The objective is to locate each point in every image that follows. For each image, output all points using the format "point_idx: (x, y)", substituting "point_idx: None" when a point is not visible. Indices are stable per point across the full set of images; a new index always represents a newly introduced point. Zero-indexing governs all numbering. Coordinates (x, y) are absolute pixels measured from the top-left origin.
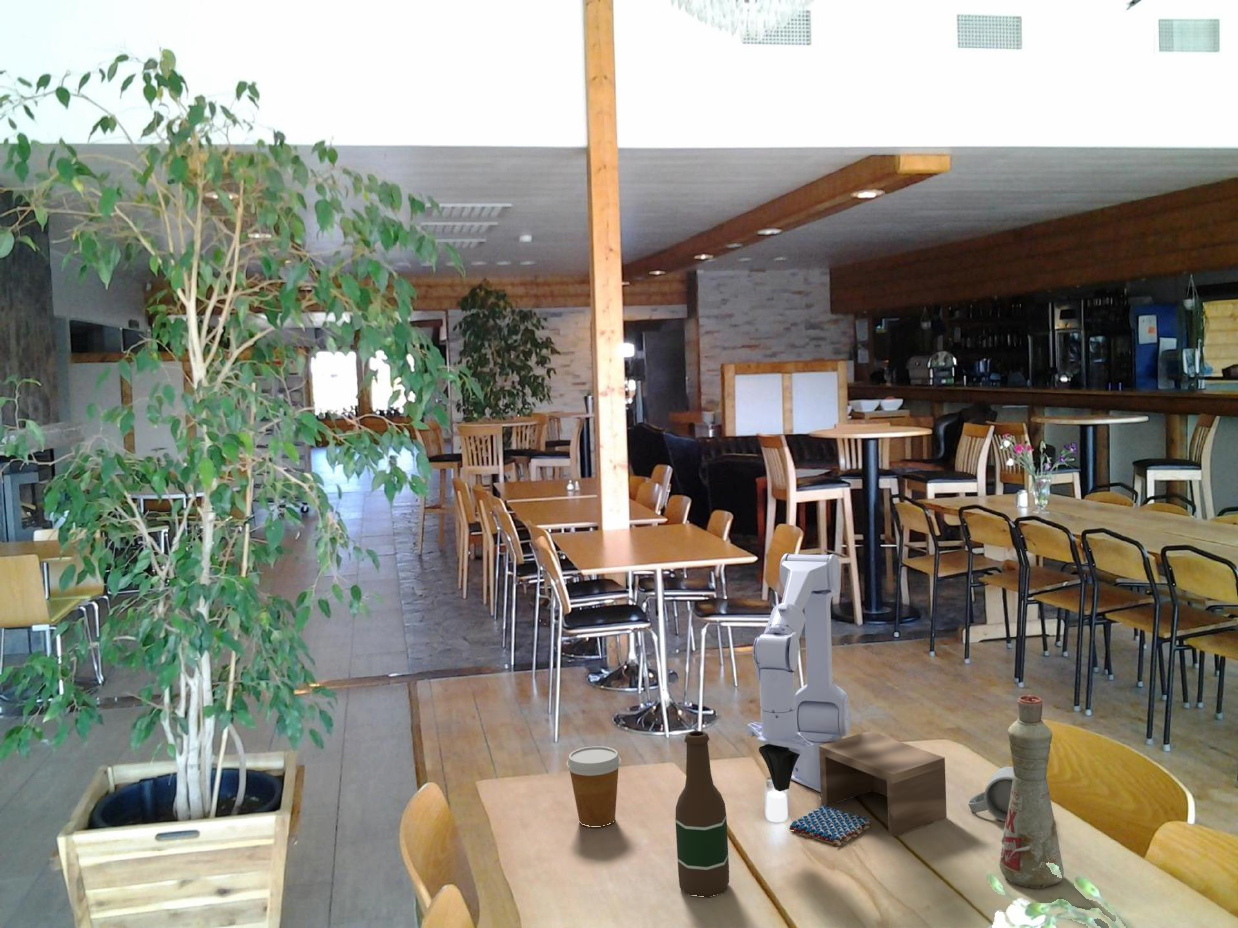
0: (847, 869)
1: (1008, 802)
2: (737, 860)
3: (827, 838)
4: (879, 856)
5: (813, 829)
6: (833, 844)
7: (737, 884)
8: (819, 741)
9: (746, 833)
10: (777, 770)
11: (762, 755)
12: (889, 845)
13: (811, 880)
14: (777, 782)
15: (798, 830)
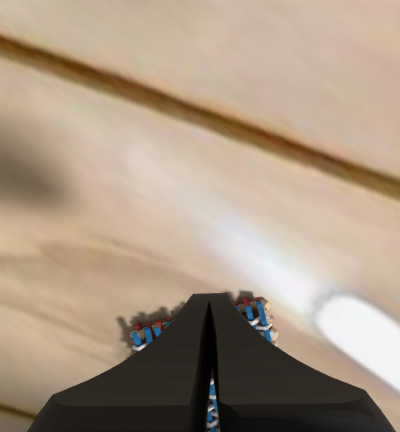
0: (26, 271)
1: None
2: (205, 92)
3: (161, 328)
4: (45, 358)
5: None
6: (137, 323)
7: (89, 6)
8: None
9: (320, 207)
10: (155, 342)
11: (312, 376)
12: None
13: (19, 175)
14: (187, 306)
15: (238, 306)
